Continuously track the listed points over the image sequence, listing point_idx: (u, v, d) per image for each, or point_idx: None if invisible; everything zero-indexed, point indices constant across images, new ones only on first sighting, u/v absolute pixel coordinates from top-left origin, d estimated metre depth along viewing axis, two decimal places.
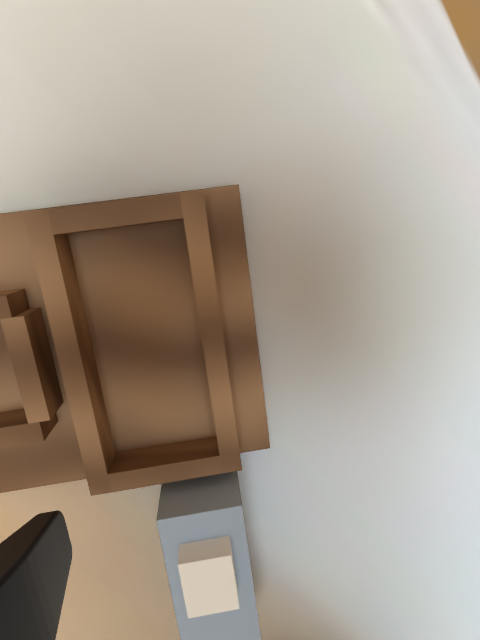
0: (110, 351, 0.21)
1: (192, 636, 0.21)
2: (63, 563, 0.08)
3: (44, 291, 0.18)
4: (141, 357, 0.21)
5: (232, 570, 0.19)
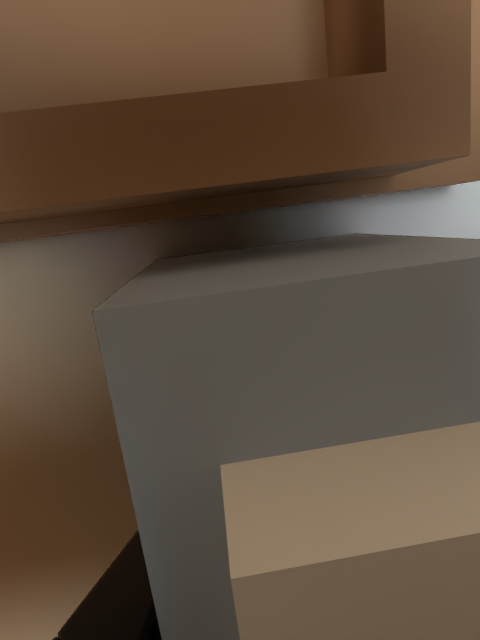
0: None
1: None
2: None
3: None
4: None
5: None
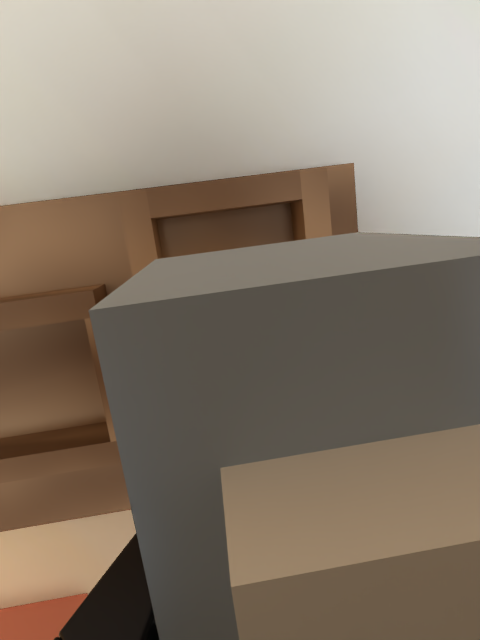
0: None
1: None
2: None
3: None
4: None
5: None
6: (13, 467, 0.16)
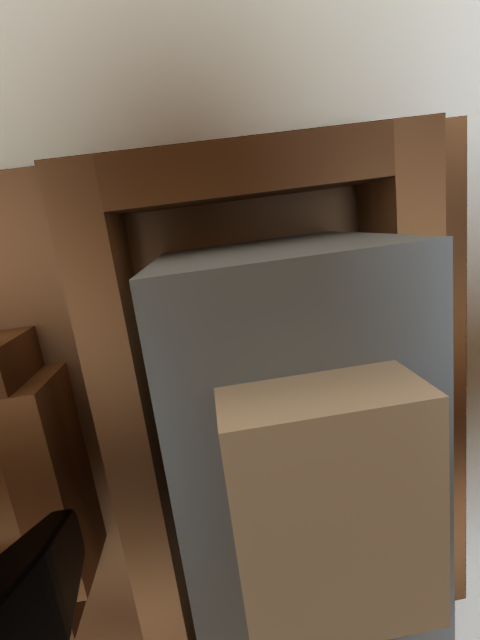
0: None
1: None
2: (77, 561, 0.08)
3: (81, 340, 0.08)
4: None
5: (444, 467, 0.04)
6: None
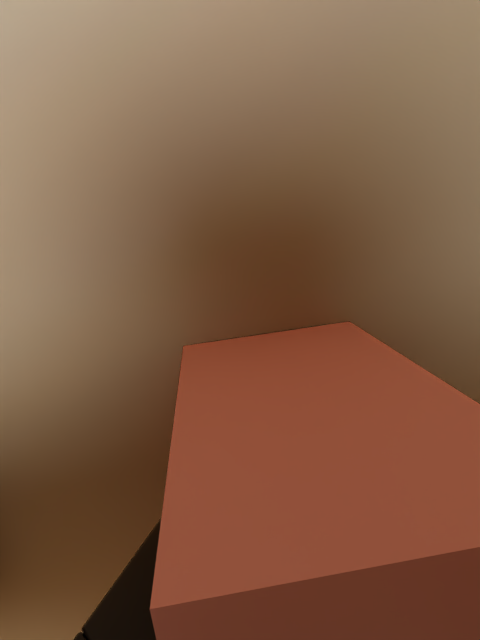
0: None
1: None
2: None
3: None
4: None
5: None
6: None
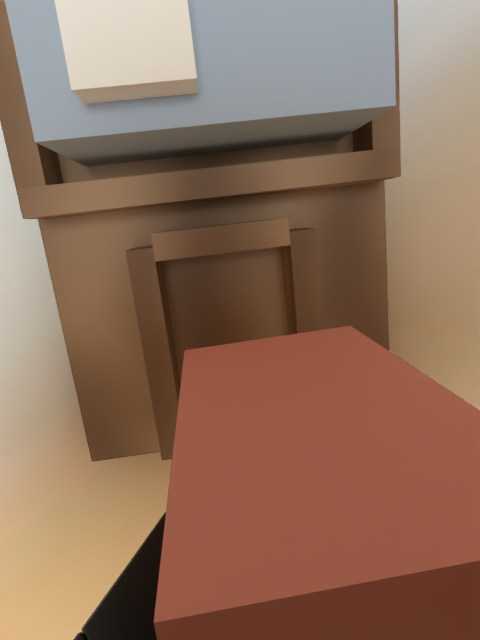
0: None
1: (288, 92, 0.11)
2: None
3: (118, 204, 0.14)
4: None
5: None
6: None
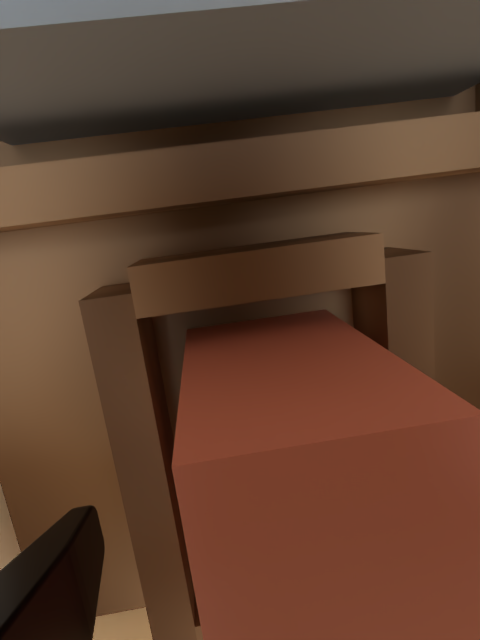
0: None
1: None
2: (98, 557, 0.08)
3: (62, 213, 0.07)
4: None
5: None
6: None
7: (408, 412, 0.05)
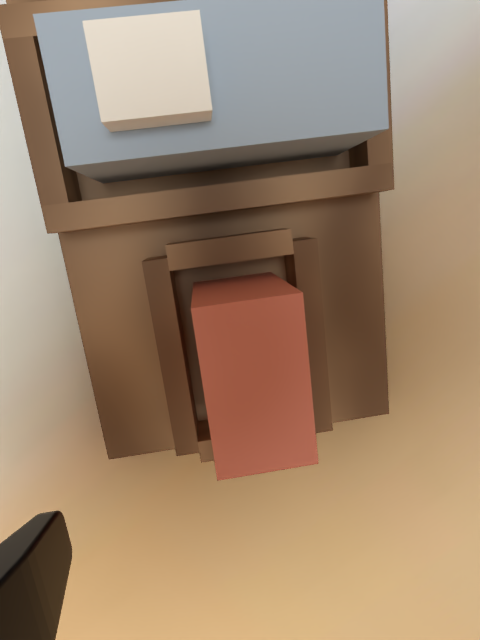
0: None
1: (292, 118, 0.13)
2: (63, 563, 0.08)
3: (135, 219, 0.16)
4: None
5: (115, 20, 0.11)
6: (312, 343, 0.17)
7: (277, 294, 0.13)
